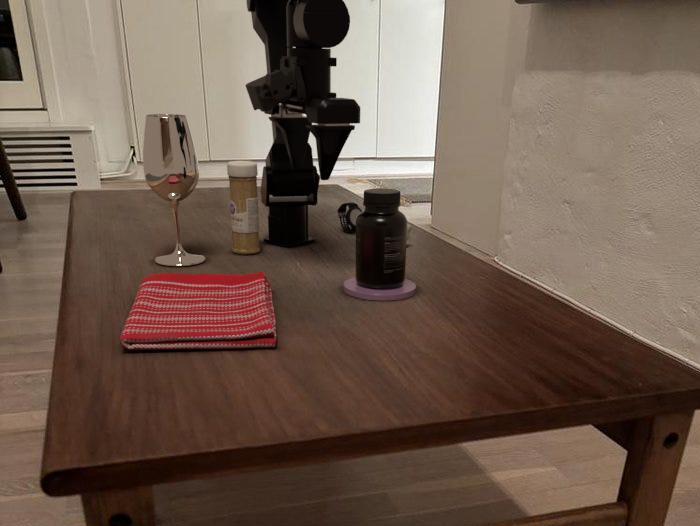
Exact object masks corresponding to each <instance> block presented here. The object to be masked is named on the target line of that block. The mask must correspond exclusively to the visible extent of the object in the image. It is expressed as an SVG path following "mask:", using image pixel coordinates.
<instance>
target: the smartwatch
mask: <svg viewBox="0 0 700 526" xmlns="http://www.w3.org/2000/svg"><path fill="white" fill-rule="evenodd" d="M347 208H348V209H347ZM362 211H363V210H362V208H361V207H359V204H357V203H356V202H344V203H342V204H341V205H340V206H339V207H338V208H337V211H336V212H337V218H338V219H339V222H340V226H341V229H342V230H343V232H345V233H354V232H355V233H356V219H357V216H358V215H359V214H360V213H361V212H362Z"/></svg>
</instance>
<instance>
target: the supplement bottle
mask: <svg viewBox="0 0 700 526" xmlns="http://www.w3.org/2000/svg"><path fill="white" fill-rule="evenodd" d="M401 203H402V202H401V190H399V189H395V188H384V187H383V188H379V187H377V188H367V189H364V191H363V201H362V206H363V207H364V210H362V212H361V213H360V214H359V215H358V216H357V219H356V231H355V277H356V282H357V283H358V284H359V285H361V286H363V287H367V288H373V289H390V288H396V287H399V286H401V285H402V284H403V283H404V281H405V279H406V267H407V265H406V264H407V263H406V262H407V241H408V240H407V224H408V219H407V217H406V215H405V214H404V213H403V212H401V211H400V209H399V208H400V207H401V206H402V205H401Z"/></svg>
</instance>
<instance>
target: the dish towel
mask: <svg viewBox="0 0 700 526" xmlns="http://www.w3.org/2000/svg"><path fill="white" fill-rule="evenodd" d="M133 302H134V303H133V304H132V305H131V306H132V307H131V309H130V311H129V313H128V316H127V318H126V320H125V324H124V326H123V328H122V332H121V333H120V337H119V344H120V345H121V347H123V349H125V350H128V351H129V350H130V351H144V350H146V351H159V350H160V351H161V350H163V351H165V350H166V351H167V350H168V351H169V350H215V349H217V350H218V349H219V350H220V349H251V348H253V349H254V348H261V349H263V348H265V349H266V348H267V349H268V348H275V347H276V345H277V343H276V342H277V337H278V335H277V328H276V326H277V325H276V324H277V322H276V314H275V307H274V305H273V304H274V302H273V293H272V289H271V284H270V283H269V282H268V279H267V276H266V275H265V273H264V272H263V271H258V272H255V273H247V274H246V273H244V274H226V273H225V274H223V273H173V272H162V273H161V272H159V273H154V274H150V275H147V276H146V277H144V278H143V279H142V280H141V282H140V285H139V287H138V290H137V293H136V296H135V299H134V301H133Z"/></svg>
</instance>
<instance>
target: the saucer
mask: <svg viewBox="0 0 700 526" xmlns="http://www.w3.org/2000/svg"><path fill="white" fill-rule="evenodd" d="M342 288H343V289H342V290H343V292H344V293H345V294H346V295H348V296H350V297H353V298H357V299H360V300H367V301H378V302H383V301H384V302H386V301H388V302H389V301H399V300H404V299H409V298H410V297H413V296H415V294H416V293H417V285H416V283H415V282H414V281H412V280H410V279H409V278H408V279H407V278H405V281H404V283H403V284H402V285H401V286H399V287H396V288H390V289H373V288H367V287H363V286H361V285H359V284H358V283H357V282H356V276H353V277H350V278H347V279H346V280H344V281H343V286H342Z"/></svg>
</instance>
